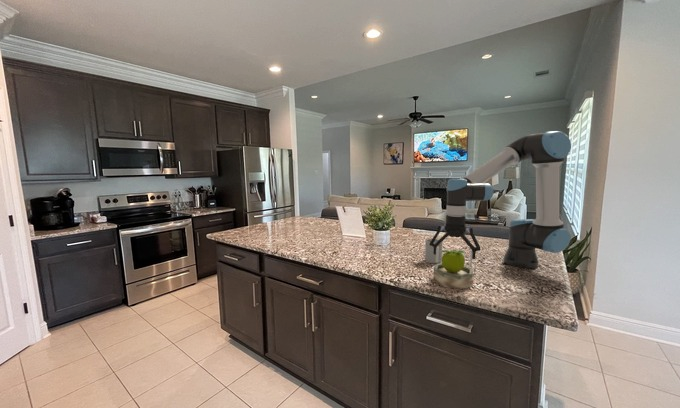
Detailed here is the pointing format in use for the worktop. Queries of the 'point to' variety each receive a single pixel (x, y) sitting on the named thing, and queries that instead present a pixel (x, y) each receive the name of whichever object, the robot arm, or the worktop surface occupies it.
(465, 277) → the shallow stone bowl
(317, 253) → the worktop surface
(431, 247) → the mug
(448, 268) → the fruit
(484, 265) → the worktop surface
